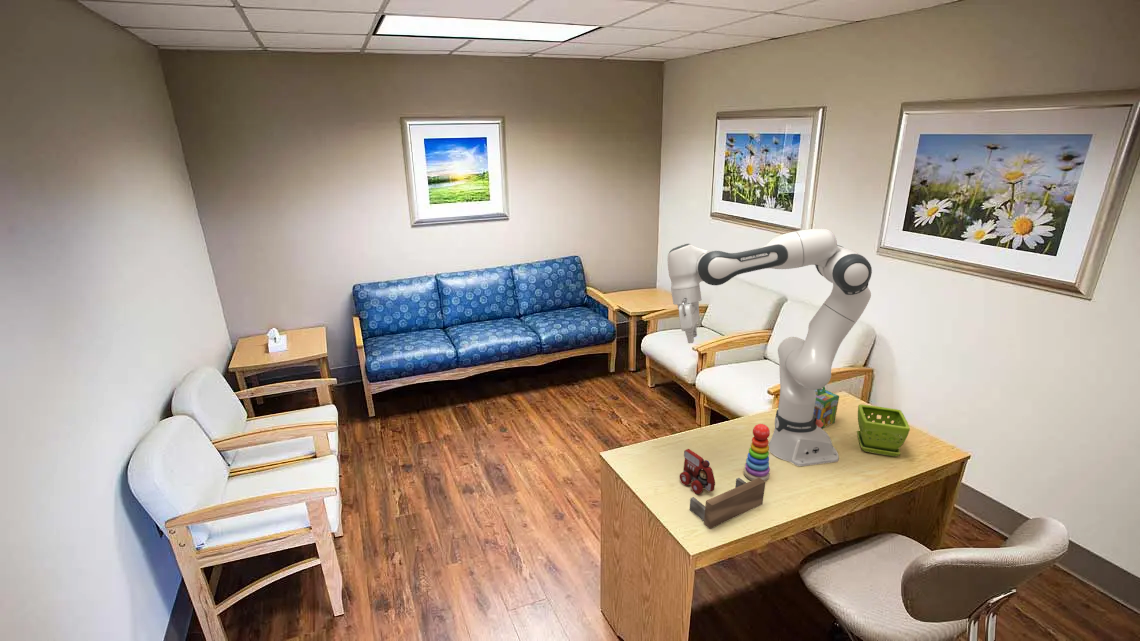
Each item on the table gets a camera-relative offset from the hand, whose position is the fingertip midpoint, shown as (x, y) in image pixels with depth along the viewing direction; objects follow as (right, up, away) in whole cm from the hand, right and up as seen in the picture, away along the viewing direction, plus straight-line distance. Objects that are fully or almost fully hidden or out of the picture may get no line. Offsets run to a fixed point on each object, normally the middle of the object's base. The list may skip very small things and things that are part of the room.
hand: (692, 339), depth 174 cm
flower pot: (+68, -38, +18) cm, 80 cm away
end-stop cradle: (+7, -49, -11) cm, 51 cm away
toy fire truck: (+1, -46, -2) cm, 46 cm away
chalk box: (+55, -32, +35) cm, 73 cm away
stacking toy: (+21, -44, +3) cm, 49 cm away
